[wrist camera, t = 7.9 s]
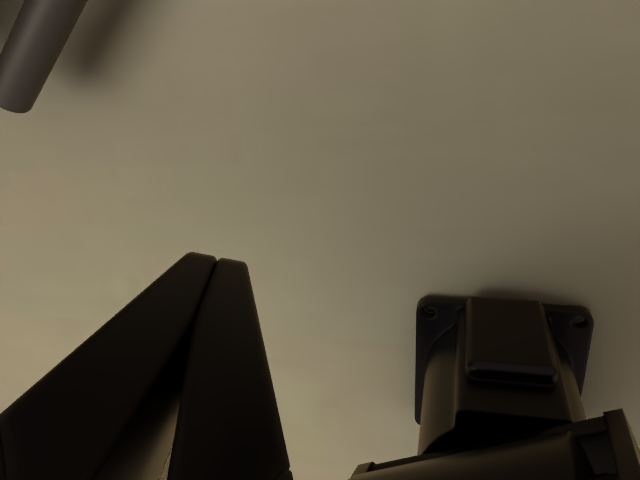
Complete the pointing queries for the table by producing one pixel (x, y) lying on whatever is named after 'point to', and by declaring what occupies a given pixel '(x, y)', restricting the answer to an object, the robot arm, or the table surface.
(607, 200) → the table surface
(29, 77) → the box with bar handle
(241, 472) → the robot arm
